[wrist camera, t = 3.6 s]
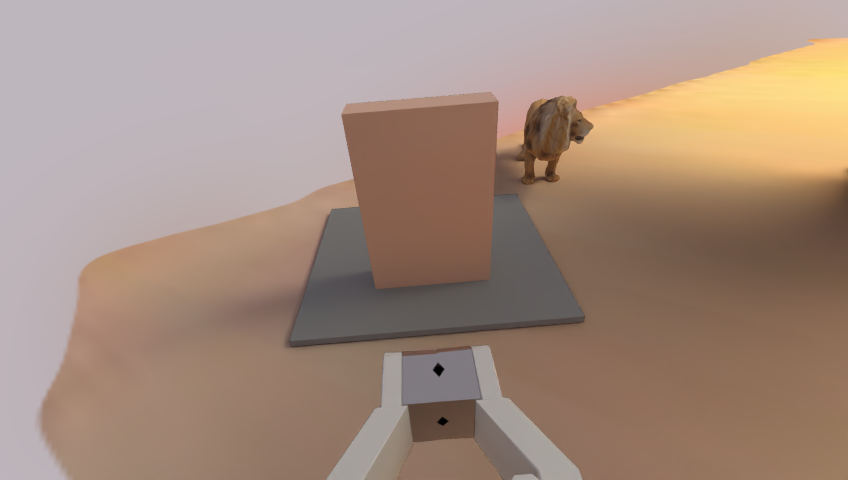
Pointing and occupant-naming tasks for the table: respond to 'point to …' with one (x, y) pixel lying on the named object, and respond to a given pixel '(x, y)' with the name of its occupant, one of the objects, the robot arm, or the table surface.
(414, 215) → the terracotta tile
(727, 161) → the table surface
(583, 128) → the lion figurine
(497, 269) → the rubber mat
